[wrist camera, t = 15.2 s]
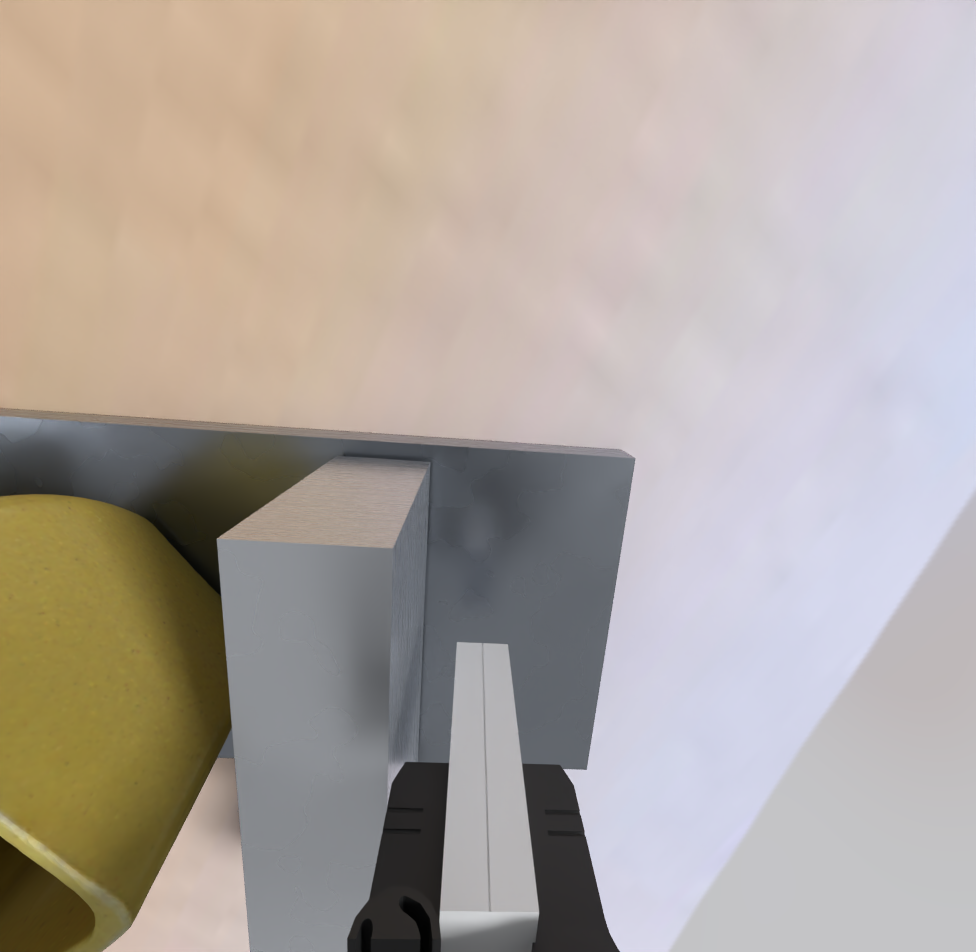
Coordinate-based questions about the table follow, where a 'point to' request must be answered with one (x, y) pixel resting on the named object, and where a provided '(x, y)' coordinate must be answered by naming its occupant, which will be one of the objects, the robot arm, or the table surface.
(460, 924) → the robot arm
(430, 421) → the table surface
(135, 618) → the flower pot
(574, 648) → the vise base
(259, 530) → the block
